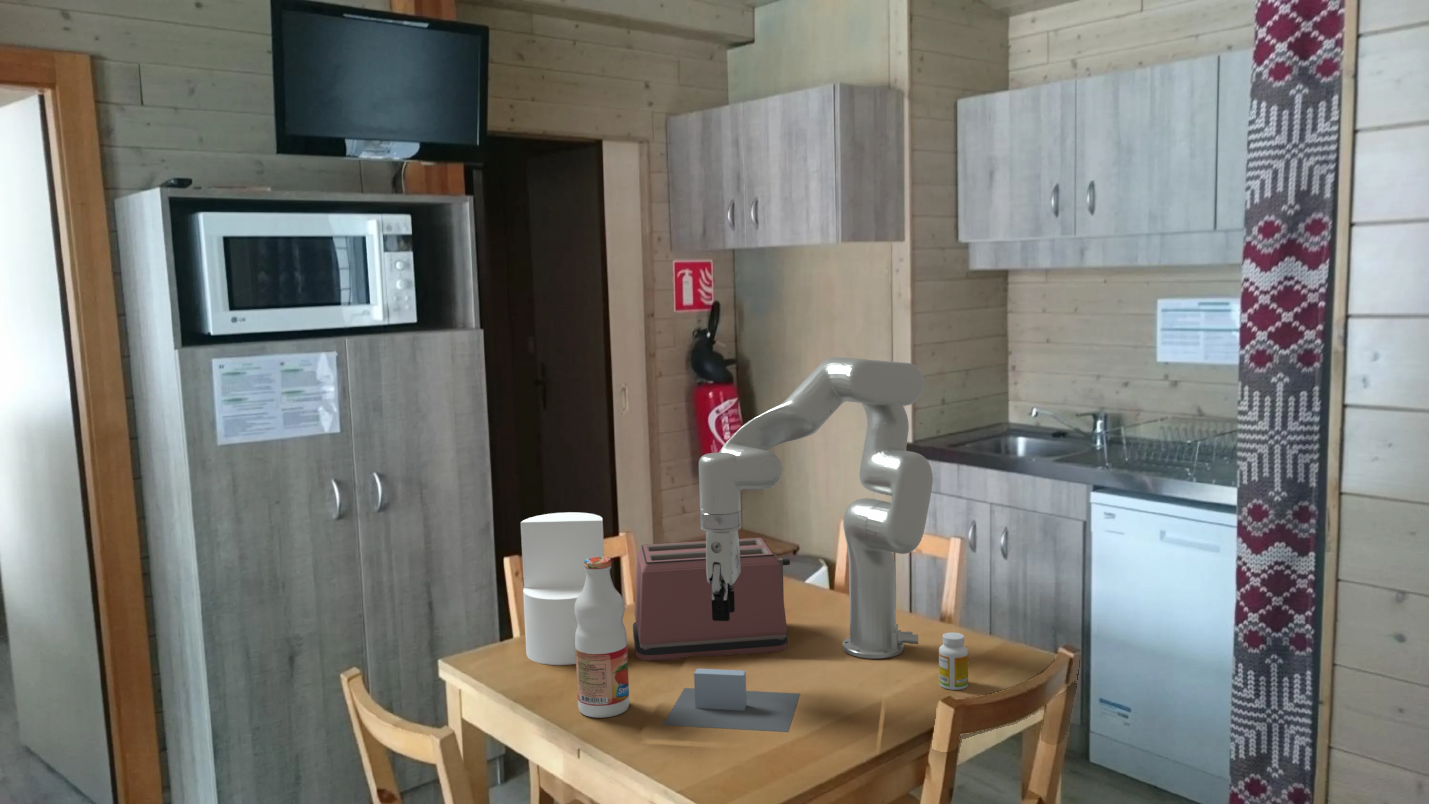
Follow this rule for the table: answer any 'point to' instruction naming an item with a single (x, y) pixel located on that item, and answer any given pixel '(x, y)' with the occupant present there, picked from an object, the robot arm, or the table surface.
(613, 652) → the fruit juice
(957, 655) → the supplement bottle
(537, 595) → the cylinder
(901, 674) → the table surface
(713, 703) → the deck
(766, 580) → the toaster
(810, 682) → the table surface
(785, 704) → the mat
